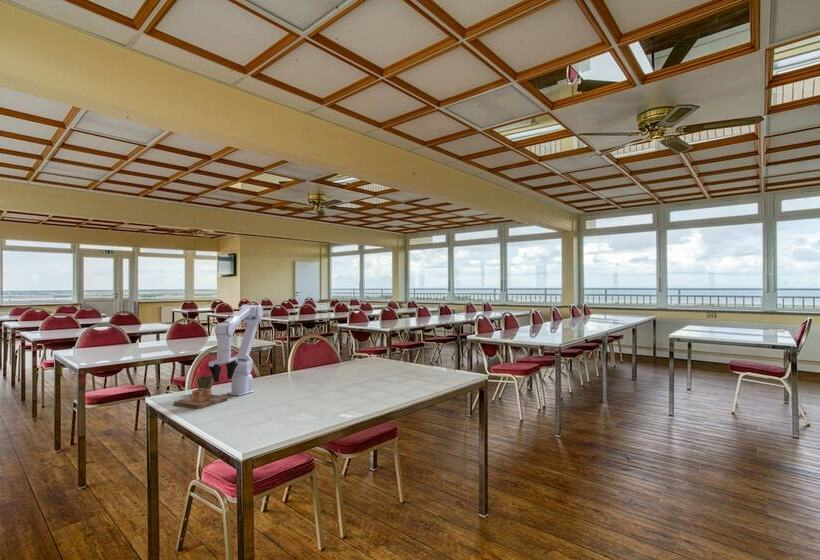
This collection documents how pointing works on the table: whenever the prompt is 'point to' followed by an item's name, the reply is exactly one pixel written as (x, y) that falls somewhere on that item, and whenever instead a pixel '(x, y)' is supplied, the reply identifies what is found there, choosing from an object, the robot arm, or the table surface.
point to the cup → (204, 382)
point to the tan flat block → (200, 404)
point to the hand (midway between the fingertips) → (223, 380)
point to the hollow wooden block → (201, 394)
